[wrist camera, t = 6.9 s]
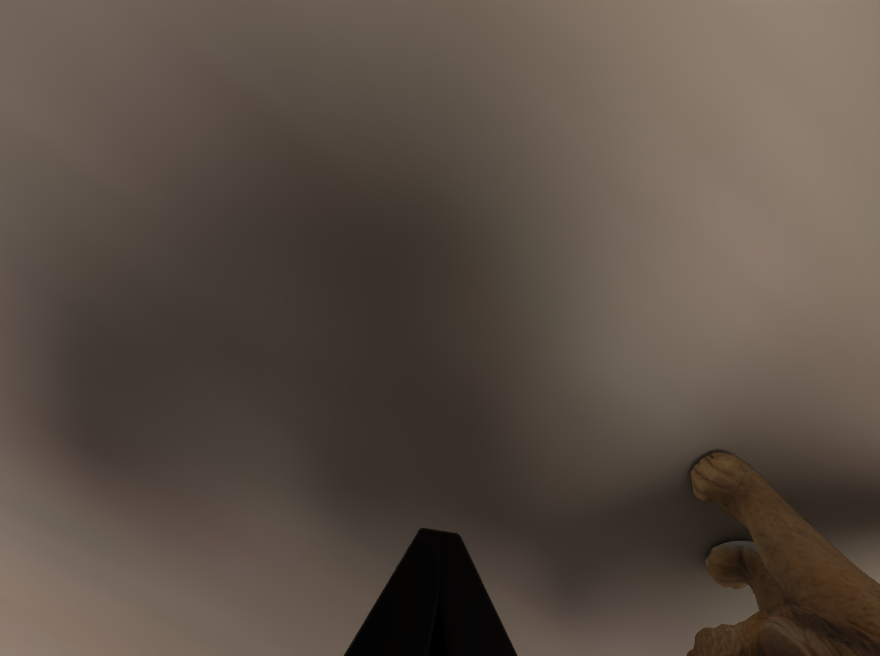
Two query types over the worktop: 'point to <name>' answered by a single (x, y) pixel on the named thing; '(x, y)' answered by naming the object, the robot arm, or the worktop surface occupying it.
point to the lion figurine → (782, 575)
